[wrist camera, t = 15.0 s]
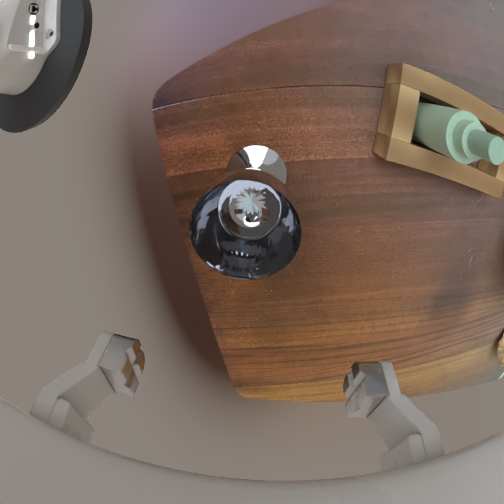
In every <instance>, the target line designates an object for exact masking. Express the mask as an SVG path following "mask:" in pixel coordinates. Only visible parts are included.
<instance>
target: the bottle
mask: <svg viewBox="0 0 504 504" xmlns="http://www.w3.org/2000/svg"><path fill="white" fill-rule="evenodd" d="M412 140H414V141H416V142H418V143H420V144H423V145H425V146H427V147H429V148H431V149H433V150H435V151H438V152H440V153H442V154H444V155H446V156H448V157H450V158H451V159H453V160H455V161H457V162H459V163H462V164H469V163H472V162H474V161H477V160H480V159H482V158H483V159H485V160H487V161H489V162H491V163H492V164H494V165H499V164H501V163H502V162H503V161H504V141H503V139H502V138H501V137H498V136H496V135H493V134H490V133H488V132H487V131H486V129H485V128H484V127H483V126H482V125H481V123H480V121H479V120H478V118H477V117H476V116H475V115H474V114H472V113H471V112H468V111H464V110H460V109H455V108H451V107H446V106H440V105H435V104H429V103H423V102H419V103H418V109H417V114H416V120H415V125H414V130H413V134H412Z"/></svg>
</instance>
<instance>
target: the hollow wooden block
mask: <svg viewBox="0 0 504 504" xmlns="http://www.w3.org/2000/svg"><path fill="white" fill-rule="evenodd" d="M419 97H422V98H425V99H427V100H430V101H432V102H434V103H437V104H439V105H441V106H446V107H451V108H455V109H460V110H464V111H468V112H471V113H472V114H474V115H475V116H476V117H477V118H478V120H479V121H480V123H481V125H482V126H483V127H485V128H487V129H486V131H487V132H488V133H490V134H493V135H496V136H498V137H501V138H502V139H503V141H504V114H502V113H501V112H499V111H498V110H496V109H495V108H493V107H491V106H490V105H488V104H487V103H485V102H483V101H482V100H480V99H478V98H477V97H475V96H473V95H472V94H470V93H468V92H466V91H464V90H462V89H461V88H459V87H457V86H455V85H453V84H451V83H449V82H447V81H445V80H443V79H441V78H439V77H437V76H434V75H432V74H430V73H428V72H426V71H423V70H421V69H419V68H416V67H414V66H411V65H409V64H406V63H397V64H391V65H387V72H386V80H385V87H384V93H383V100H382V106H381V111H380V117H379V122H378V128H377V132H376V137H375V142H374V147H373V152H375V153H376V154H378V155H379V156H381V157H382V158H384V159H385V160H387V161H391V162H395V163H398V164H402V165H406V166H409V167H412V168H416V169H419V170H422V171H425V172H429V173H432V174H435V175H438V176H441V177H444V178H447V179H450V180H452V181H455V182H458V183H461V184H463V185H466V186H469V187H471V188H474V189H476V190H479V191H481V192H484V193H486V194H489V195H491V196H493V197H496V198H498V199H501V196H502V193H503V190H504V161H503V162H502V163H501V164H499V165H494V164H492V163H491V162H489V161H487V160H485V159H483V158H482V159H480V160H479V163H478V168H477V167H475V166H473V165H471V164H462V163H459V162H457V161H455V160H453V159H451V158H450V157H448V156H446V155H444V154H442V153H440V152H438V151H435V150H433V149H430V148H428V147H425V146H422V145H419V144H416V143H413V142H411V139H412V134H413V130H414V125H415V120H416V114H417V109H418V103H419Z"/></svg>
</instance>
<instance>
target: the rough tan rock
mask: <svg viewBox="0 0 504 504" xmlns="http://www.w3.org/2000/svg"><path fill="white" fill-rule="evenodd" d="M497 352H498V355H499V358H500V363H501V365H502V367H504V334H503V337H502V339H501V340H500V342H499V344H498V350H497Z"/></svg>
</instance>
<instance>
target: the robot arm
mask: <svg viewBox="0 0 504 504" xmlns="http://www.w3.org/2000/svg"><path fill="white" fill-rule="evenodd" d="M60 15H61V0H0V93H3V94H10V95H18V94H20V93H22V92H24V91H25V90H26V89H27V88H28V87H30V85H31V84H32V83H33V82H34V80H35V79H36V78H37V76H38V74H39V73H40V71H41V69H42V67H43V65H44V62H45V60H46V59H47V57H48V55H49V54H50V53H51V52H52V51H53V50H54V49H55V48H56V46H57V45H58V43H59V41H60V37H61V34H60ZM52 34H53V35H52ZM140 346H141V344H140V341H139V340H138V339H134V338H129V337H125V336H121V335H117V334H114V333H110V332H106V331H103V332H102V333H101V334H100V336H99V338H98V340H97V341H96V343H95V345H94V347H93V349H92V351H91V353H90V355H89V357H88V359H87V361H86V362H81V363H80V364H78V365H77V366H75V367H74V368H72V369H70V370H69V371H68V372H66V373H64V374H63V375H61V376H60V377H58V378H56V379H55V380H53V381H52V382H50V383H49V384H47V385H46V386H44V387H42V389H41V390H40V393H39V395H38V397H37V399H36V401H35V403H34V405H33V407H32V409H31V411H30V414H28V413H27V412H25V411H23V410H21V409H20V408H18V407H17V406H15V405H13V404H12V403H10V402H9V401H7V400H6V399H4V398H3V397H1V396H0V504H504V434H502V433H497V434H495V435H492V436H491V437H488V438H486V439H484V440H482V441H479V442H477V443H475V444H472V445H470V446H467V447H465V448H462V449H460V450H457V451H454V452H451V453H449V454H446V455H445V454H444V450H443V446H442V442H441V438H440V433H439V429H438V427H437V426H436V425H434V423H432V421H430V420H429V419H428V417H426V416H425V415H424V414H423V413H422V412H421V411H420V410H419V409H418V408H417V407H416V406H415V405H414V404H413V403H412V402H411V401H410V400H409V399H408V398H407V397H406V396H405V395H401V392H400V388H399V385H398V381H397V378H396V374H395V371H394V368H393V365H392V363H391V362H390V361H365V362H355V363H353V365H352V367H351V368H352V371H350V372H349V373H347V375H346V377H345V379H344V384H343V390H344V395H345V396H346V397H347V398H348V401H347V403H346V411H347V418H364V417H367V420H368V421H369V423H370V424H371V425H372V427H373V428H374V430H375V431H376V432H377V433H378V435H379V436H380V438H381V439H382V440H383V441H384V443H385V444H386V446H387V447H388V448H389V450H388V451H387V452H386V453H384V454H382V455H381V456H380V457H379V463H380V472H377V473H372V474H365V475H359V476H352V477H344V478H334V479H322V480H303V481H264V480H246V479H235V478H225V477H216V476H209V475H203V474H197V473H191V472H186V471H181V470H175V469H171V468H167V467H162V466H158V465H154V464H150V463H146V462H143V461H139V460H136V459H132V458H129V457H126V456H123V455H120V454H117V453H114V452H111V451H108V450H106V449H103V448H100V447H98V446H95V445H92V444H90V440H91V437H92V434H93V431H94V429H93V427H92V426H91V425H90V424H89V423H88V422H87V421H86V420H85V419H86V418H87V417H88V416H89V415H90V414H91V413H93V412H94V411H95V410H96V409H97V408H98V407H99V406H101V405H102V404H103V403H104V402H105V401H106V400H107V399H109V398H110V397H111V396H112V395H113V394H114V393H115V392H117V393H121V394H125V395H129V396H134V395H135V392H136V389H137V386H138V381H137V377H138V376H139V375H141V374H142V372H143V369H144V363H145V358H144V353H143V351H141V350H140Z"/></svg>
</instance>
